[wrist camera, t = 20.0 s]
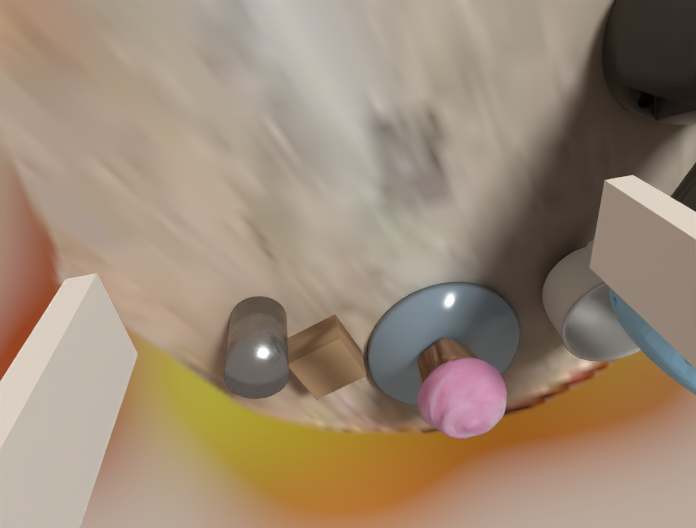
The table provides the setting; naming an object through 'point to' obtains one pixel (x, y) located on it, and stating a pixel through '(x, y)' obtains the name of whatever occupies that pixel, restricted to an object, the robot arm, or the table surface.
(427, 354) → the cupcake
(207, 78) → the table surface
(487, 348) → the plate
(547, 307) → the teacup
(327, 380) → the walnut block
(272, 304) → the metal tin
